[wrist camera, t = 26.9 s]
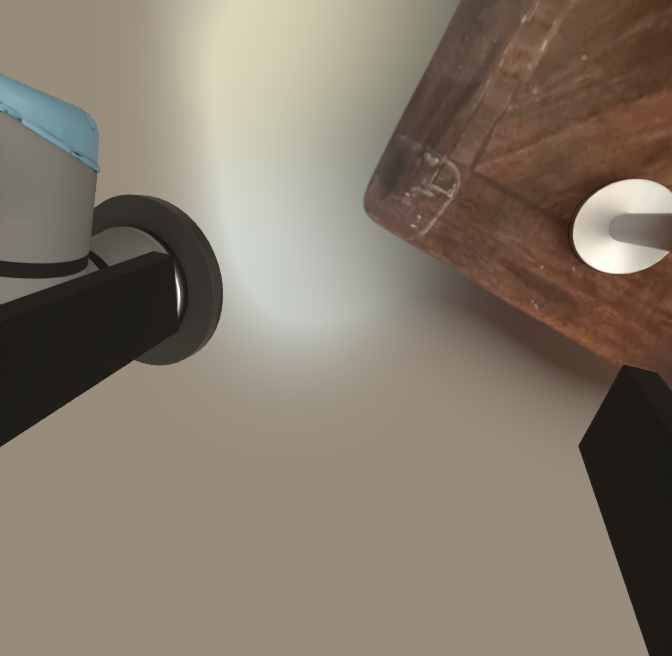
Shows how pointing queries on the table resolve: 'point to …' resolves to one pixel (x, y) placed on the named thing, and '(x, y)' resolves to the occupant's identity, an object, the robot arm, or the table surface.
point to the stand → (623, 226)
